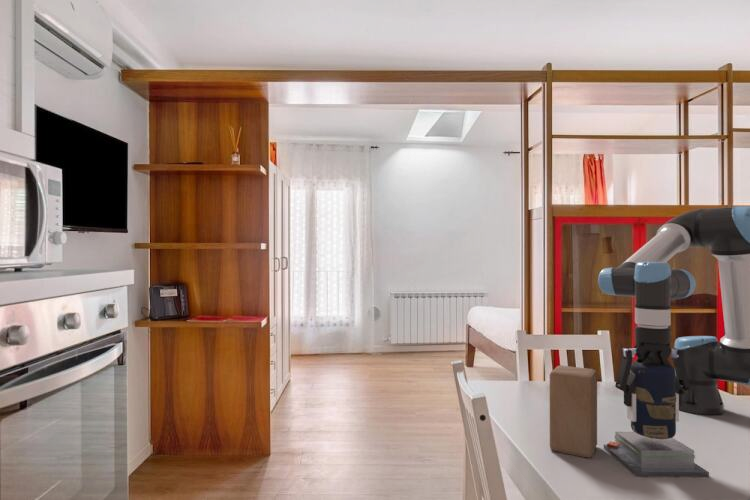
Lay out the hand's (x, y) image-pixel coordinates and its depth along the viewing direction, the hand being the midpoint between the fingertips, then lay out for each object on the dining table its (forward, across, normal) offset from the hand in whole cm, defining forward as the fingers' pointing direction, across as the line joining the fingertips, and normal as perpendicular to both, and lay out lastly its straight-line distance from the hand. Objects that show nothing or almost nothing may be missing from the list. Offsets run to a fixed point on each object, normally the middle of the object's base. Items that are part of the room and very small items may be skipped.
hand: (652, 419), depth 118 cm
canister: (+4, 0, 0) cm, 4 cm away
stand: (+10, 0, 0) cm, 10 cm away
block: (+10, +16, -8) cm, 20 cm away
